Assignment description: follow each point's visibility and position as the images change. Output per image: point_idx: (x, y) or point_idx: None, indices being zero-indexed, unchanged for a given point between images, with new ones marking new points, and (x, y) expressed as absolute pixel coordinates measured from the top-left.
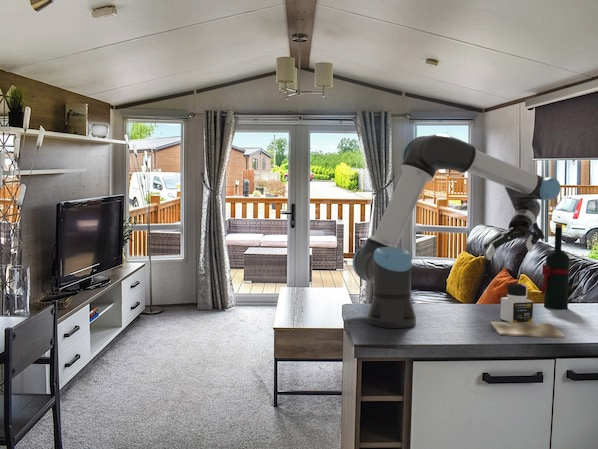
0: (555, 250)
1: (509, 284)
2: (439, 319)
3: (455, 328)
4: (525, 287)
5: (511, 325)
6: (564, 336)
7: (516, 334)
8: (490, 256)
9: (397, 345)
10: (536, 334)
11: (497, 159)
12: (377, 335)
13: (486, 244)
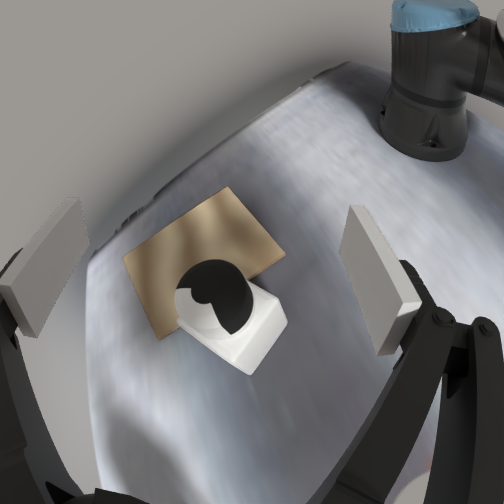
0: None
1: (234, 276)
2: (394, 204)
3: (319, 170)
4: (177, 287)
5: (228, 255)
6: (123, 257)
7: (199, 205)
8: (346, 248)
9: (318, 74)
10: (166, 227)
11: None
12: (370, 82)
13: (472, 325)
